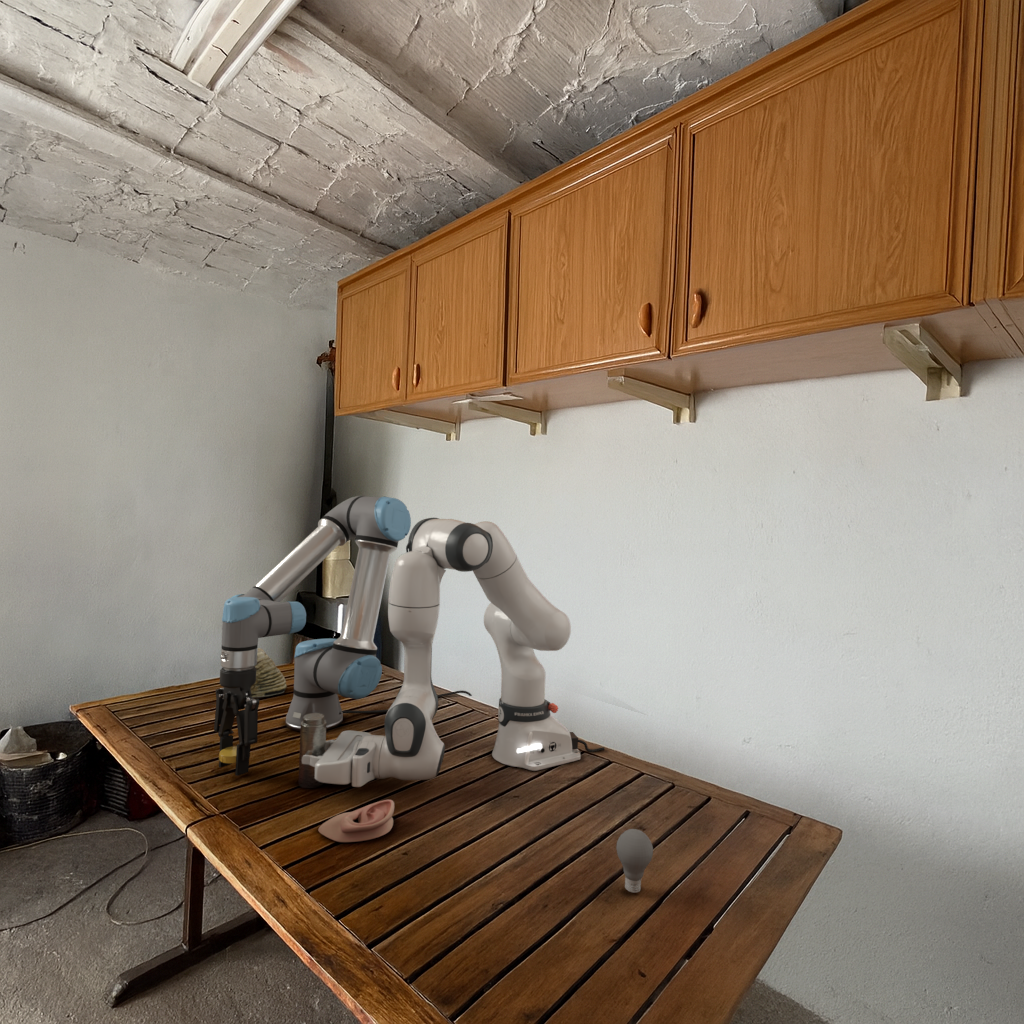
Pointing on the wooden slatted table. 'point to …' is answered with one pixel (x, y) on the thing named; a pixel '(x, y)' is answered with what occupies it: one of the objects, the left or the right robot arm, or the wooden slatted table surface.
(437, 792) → the wooden slatted table surface
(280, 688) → the fossil
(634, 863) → the light bulb
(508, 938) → the wooden slatted table surface
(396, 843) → the wooden slatted table surface
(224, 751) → the lid
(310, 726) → the jar
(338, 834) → the anatomical model
